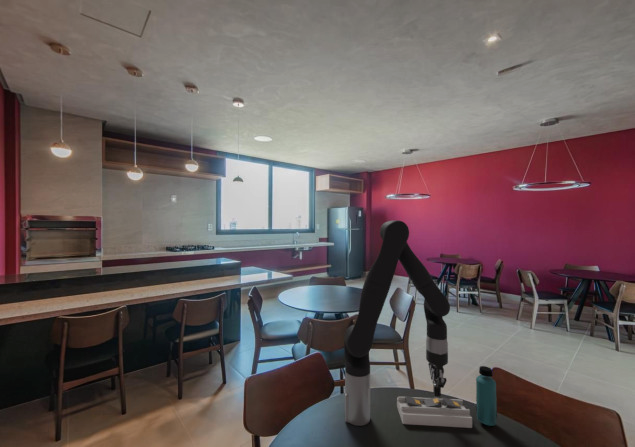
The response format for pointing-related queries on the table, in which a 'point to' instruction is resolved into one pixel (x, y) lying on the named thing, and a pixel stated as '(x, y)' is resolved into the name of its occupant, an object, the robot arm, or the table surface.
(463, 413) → the power strip
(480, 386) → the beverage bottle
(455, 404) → the right rocker
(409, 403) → the left rocker
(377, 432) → the table surface
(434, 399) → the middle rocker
